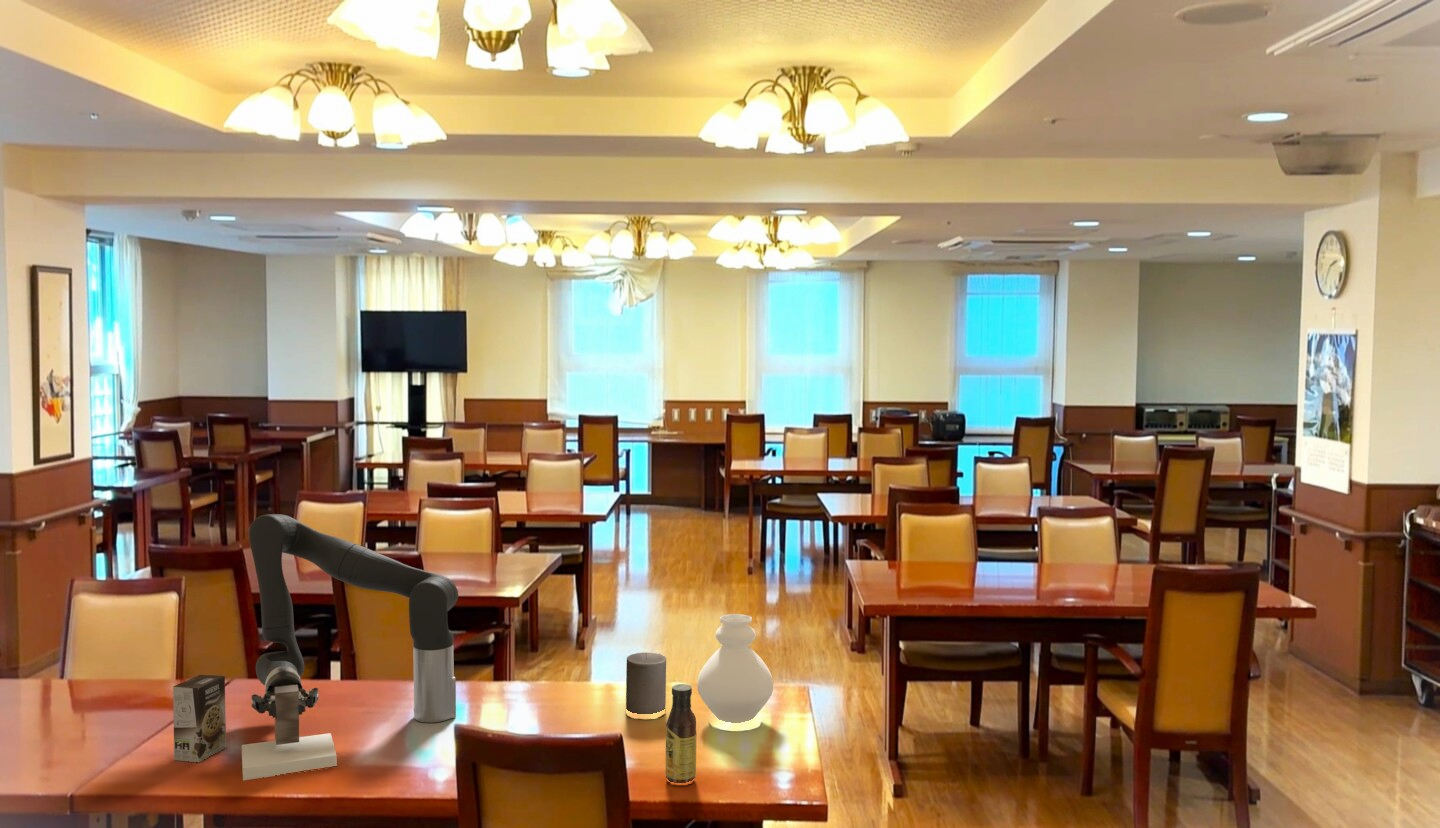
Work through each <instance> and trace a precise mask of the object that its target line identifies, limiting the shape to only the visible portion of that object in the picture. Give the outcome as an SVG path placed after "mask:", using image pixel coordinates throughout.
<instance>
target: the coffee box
mask: <svg viewBox="0 0 1440 828" xmlns="http://www.w3.org/2000/svg"><path fill="white" fill-rule="evenodd" d="M225 677H226V676H224V675H216V674H215V675H214V674H213V675H211V674H198V675H197V676H194V677H193V678H189V679H187V680H185V681H183V682H181V683H178V684H175V685H174V686H172V690H173V691H172V694H173V695H172V697H173V699H172V700H173V702H172V703H173V704H172V705H173V707H172V708H173V713H172V714H173V717H172V718H173V760H174V761H181V762H188V761H189V762H188V763H196V762H198V763H201V762H203V761H205V760H206V759H208V758H210V757H212V756H213V754H214V755H216V754H218V753H219V752H221V751H222V749H223V750H225V749H226V748H227V731H226V729H227V726H226V725H227V724H226V722H227V721H226V717H227V716H226V678H225ZM224 748H225V749H224ZM215 753H216V754H215ZM211 755H212V756H211ZM209 756H210V757H209ZM204 759H205V760H204Z"/></svg>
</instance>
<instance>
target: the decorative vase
mask: <svg viewBox="0 0 1440 828" xmlns="http://www.w3.org/2000/svg"><path fill="white" fill-rule="evenodd" d="M719 622H720V623H721V624H722V625H720V626H719V627H718V628H717V630H716V632H715V638H716V640H717V642H718V643H719V644H720V645H721V646H720V647H719V648H718V649H717V651H715V652H714V653H713V654H712V655H711V656H710V657H709V658H708V660H707V661H706V662H705V663H704V665H703V667H702V668H701V670H700V672H699V674H698V677H697V678H698V679H697V684H696V685H697V692H698V695H699V696H700V698H701V700H702V701H703V703H704V704H705V705H706V706H707V708H708V709H709V710H710V711H711V713H712V715H715V716H716V717H717V718H718V719H719V720H722V721H725V722H731V723H741V722H745V721H749V720H751V719H753V718H754V717H755V716H756V715H757V716H758V713H759V712H760V711H761V710H762V709H763V707H765V705H766V704H767V702H768V701H769V699H771V696H772V694H773V691H774V679H773V676H772V673H771V670H769V668H768V666H767V665H766V663H765V662H764V660H763V659H762V658H761V657H760V656H759V655H758V654H757V653H756V652H755V651H754V649H752V647H750V645H752V643H753V642H755V639H756V638H757V634H756V631H755V629H754V628H753V627H752V626H750V624H751V623H752V622H753V617H752V616H751V615H747V614H741V613H729V614H724V615H723V614H722V615H721V616H720V617H719Z"/></svg>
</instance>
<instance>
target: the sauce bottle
mask: <svg viewBox="0 0 1440 828" xmlns="http://www.w3.org/2000/svg"><path fill="white" fill-rule="evenodd" d="M692 691H693V688H692V686H691V685H689V684H687V683H678V684H675V685H673V686H672V687H671V695H672V704H671V709H670V712H669V714H668V717H667V720H666V723H665V779H666V778H667V779H668V780H669V781H670V782H674V783H686V782H689V781H692V780H693V779H694V778H695V779H696V775H697V736H698V735H697V734H698V733H697V718H696V715H695V713H694V712H693V710H692V703H691V702H692V701H691V700H692V693H693V692H692Z"/></svg>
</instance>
